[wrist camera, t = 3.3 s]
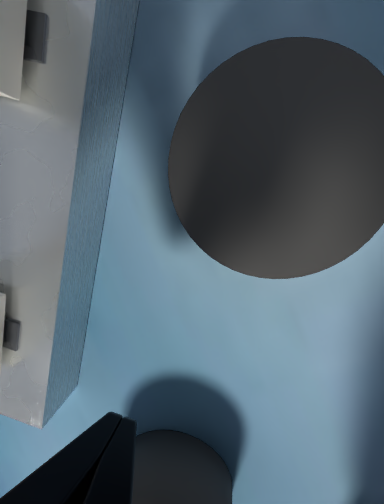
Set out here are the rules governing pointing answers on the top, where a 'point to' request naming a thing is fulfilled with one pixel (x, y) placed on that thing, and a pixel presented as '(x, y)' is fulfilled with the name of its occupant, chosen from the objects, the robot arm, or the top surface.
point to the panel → (57, 193)
